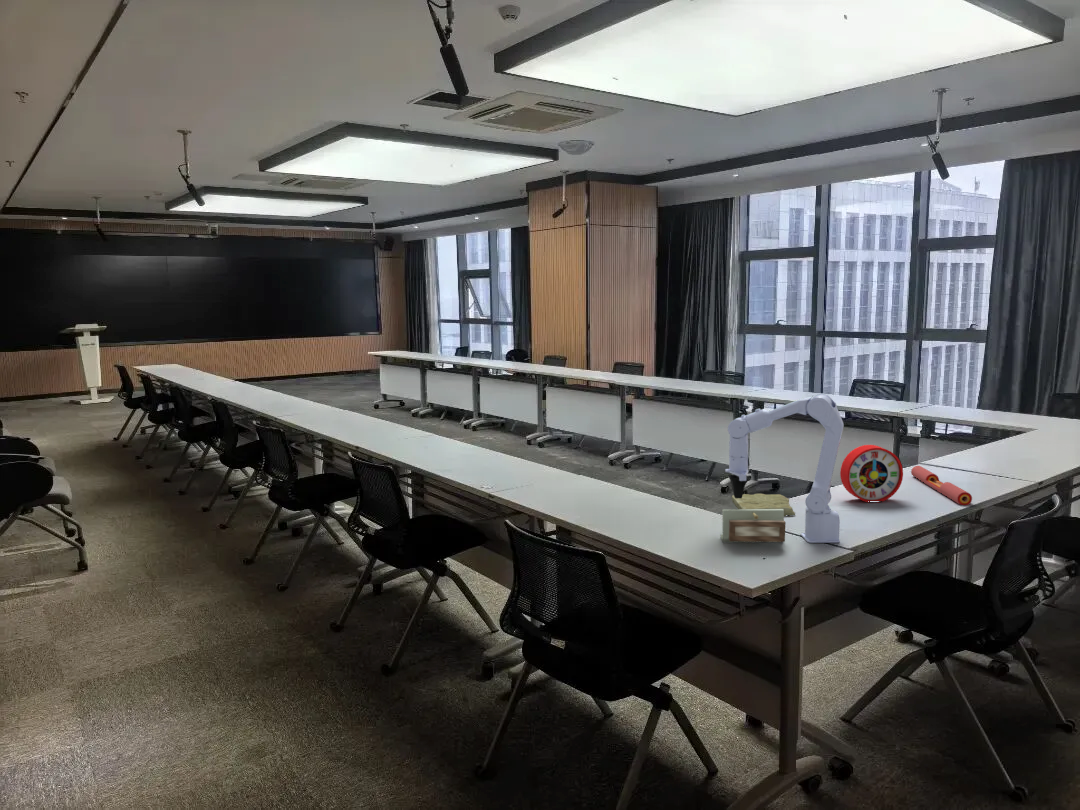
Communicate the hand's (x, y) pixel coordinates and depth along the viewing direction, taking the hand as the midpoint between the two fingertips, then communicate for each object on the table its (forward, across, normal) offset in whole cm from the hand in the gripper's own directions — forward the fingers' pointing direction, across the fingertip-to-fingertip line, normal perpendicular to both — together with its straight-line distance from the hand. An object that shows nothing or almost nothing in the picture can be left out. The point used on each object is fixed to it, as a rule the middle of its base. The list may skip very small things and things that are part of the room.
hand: (738, 497), depth 234 cm
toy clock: (+11, -33, +54) cm, 64 cm away
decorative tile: (+11, -24, +14) cm, 30 cm away
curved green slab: (+10, +12, +2) cm, 16 cm away
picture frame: (+8, +18, +2) cm, 20 cm away
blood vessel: (+11, -48, +84) cm, 98 cm away
